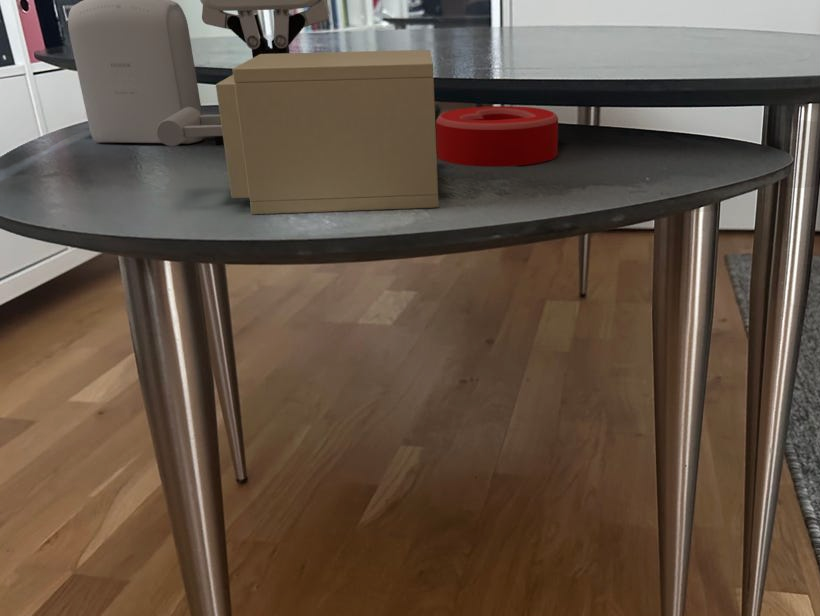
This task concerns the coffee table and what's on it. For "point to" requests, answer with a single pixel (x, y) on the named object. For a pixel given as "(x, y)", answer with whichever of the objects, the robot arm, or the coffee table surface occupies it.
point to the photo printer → (132, 67)
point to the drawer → (213, 133)
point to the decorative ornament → (497, 136)
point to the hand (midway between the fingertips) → (275, 94)
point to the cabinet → (338, 131)
